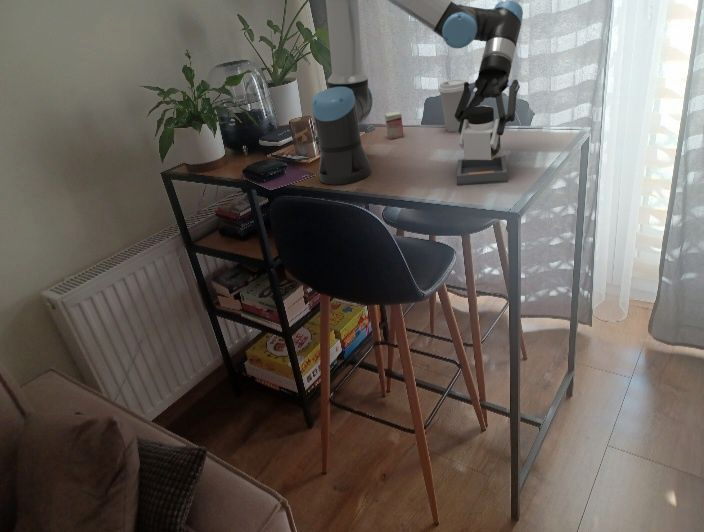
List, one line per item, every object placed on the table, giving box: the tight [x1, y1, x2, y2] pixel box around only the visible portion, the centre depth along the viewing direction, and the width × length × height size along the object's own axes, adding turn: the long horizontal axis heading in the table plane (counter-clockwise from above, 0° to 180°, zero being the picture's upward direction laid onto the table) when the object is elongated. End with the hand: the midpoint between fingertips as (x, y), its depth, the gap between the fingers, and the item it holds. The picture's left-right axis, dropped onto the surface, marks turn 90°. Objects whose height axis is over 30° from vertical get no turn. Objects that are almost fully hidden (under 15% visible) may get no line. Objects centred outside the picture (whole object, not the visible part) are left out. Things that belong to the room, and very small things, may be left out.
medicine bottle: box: [463, 105, 501, 160], centre depth 128 cm, size 7×7×12 cm
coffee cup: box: [438, 78, 467, 133], centre depth 169 cm, size 10×10×15 cm
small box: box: [384, 110, 405, 140], centre depth 174 cm, size 5×4×8 cm
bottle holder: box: [456, 155, 508, 186], centre depth 133 cm, size 12×12×3 cm
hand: (477, 146), depth 127 cm, fingers closed on medicine bottle, 7 cm apart
